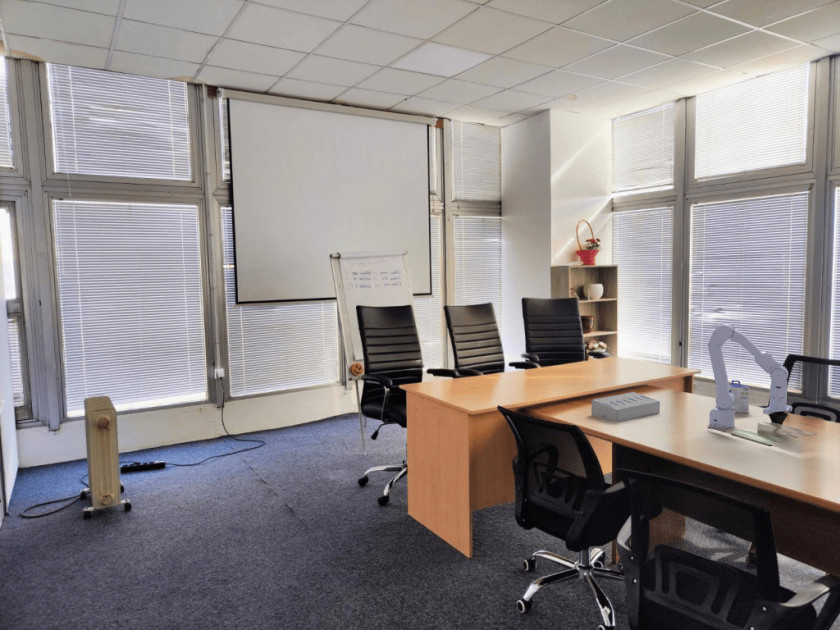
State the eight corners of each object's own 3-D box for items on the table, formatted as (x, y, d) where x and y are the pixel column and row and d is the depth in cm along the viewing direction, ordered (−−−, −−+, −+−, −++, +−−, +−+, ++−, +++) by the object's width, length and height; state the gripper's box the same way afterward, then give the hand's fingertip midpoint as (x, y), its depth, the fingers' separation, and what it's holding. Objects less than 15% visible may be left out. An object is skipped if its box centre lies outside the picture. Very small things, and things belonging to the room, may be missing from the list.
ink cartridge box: (745, 410, 264) (746, 380, 263) (749, 413, 259) (750, 382, 258) (722, 409, 266) (723, 379, 265) (726, 412, 261) (727, 381, 260)
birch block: (771, 436, 217) (772, 426, 217) (757, 432, 223) (757, 422, 223) (782, 434, 220) (782, 424, 219) (767, 430, 225) (767, 421, 225)
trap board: (769, 446, 210) (769, 442, 210) (731, 435, 225) (731, 431, 225) (817, 437, 221) (817, 433, 221) (778, 427, 236) (778, 423, 236)
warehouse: (617, 422, 246) (617, 405, 245) (591, 415, 258) (591, 399, 257) (659, 413, 261) (659, 397, 261) (633, 407, 274) (633, 391, 273)
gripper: (775, 400, 216) (774, 434, 217) (800, 397, 221) (798, 430, 222) (758, 396, 222) (757, 430, 223) (782, 393, 228) (781, 426, 229)
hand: (776, 430), depth 223 cm, fingers closed
